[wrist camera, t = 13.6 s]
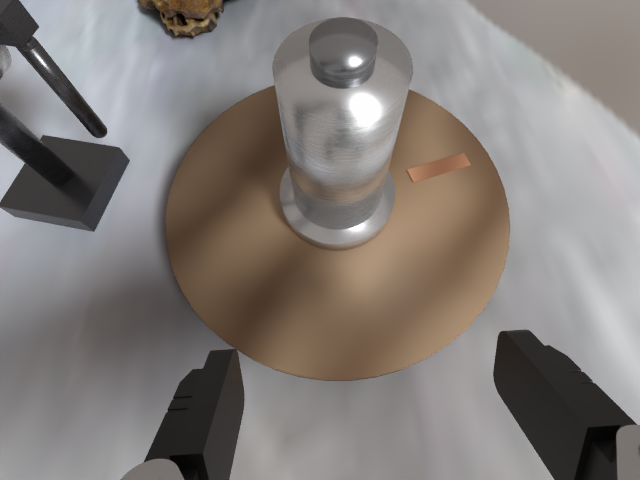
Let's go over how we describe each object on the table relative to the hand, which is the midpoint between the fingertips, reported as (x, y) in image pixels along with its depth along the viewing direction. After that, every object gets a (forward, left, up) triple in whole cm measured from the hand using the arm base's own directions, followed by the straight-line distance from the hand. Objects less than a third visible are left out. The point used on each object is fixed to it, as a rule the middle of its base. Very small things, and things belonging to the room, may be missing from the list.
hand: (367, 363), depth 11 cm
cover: (-5, +9, -8) cm, 13 cm away
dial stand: (-21, +4, -11) cm, 24 cm away
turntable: (-5, +9, -9) cm, 14 cm away
